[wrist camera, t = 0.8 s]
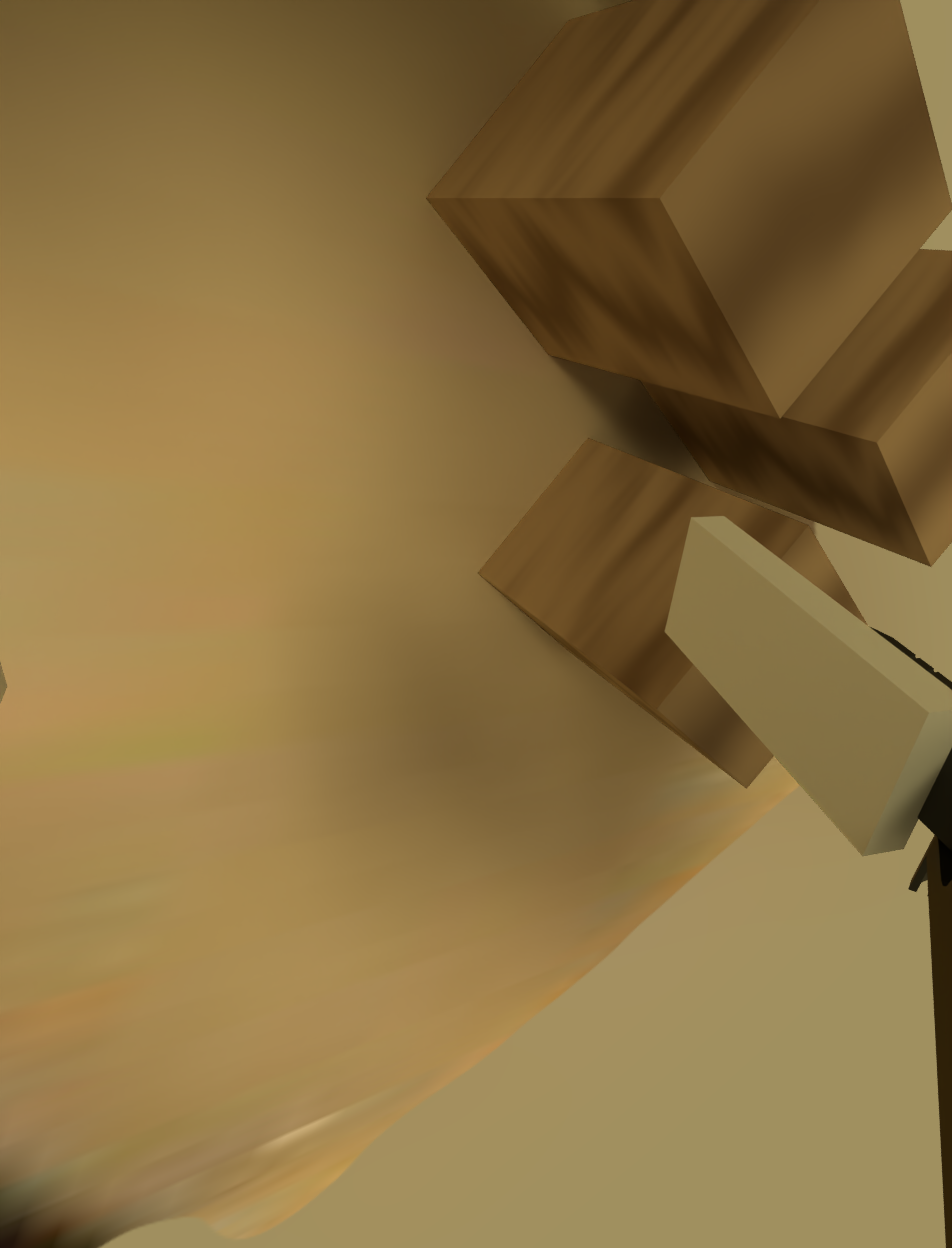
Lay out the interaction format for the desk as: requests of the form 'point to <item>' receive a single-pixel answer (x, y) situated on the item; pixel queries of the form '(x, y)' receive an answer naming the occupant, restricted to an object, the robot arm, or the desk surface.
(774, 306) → the block seven
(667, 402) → the block one
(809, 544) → the plain block
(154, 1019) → the desk surface
